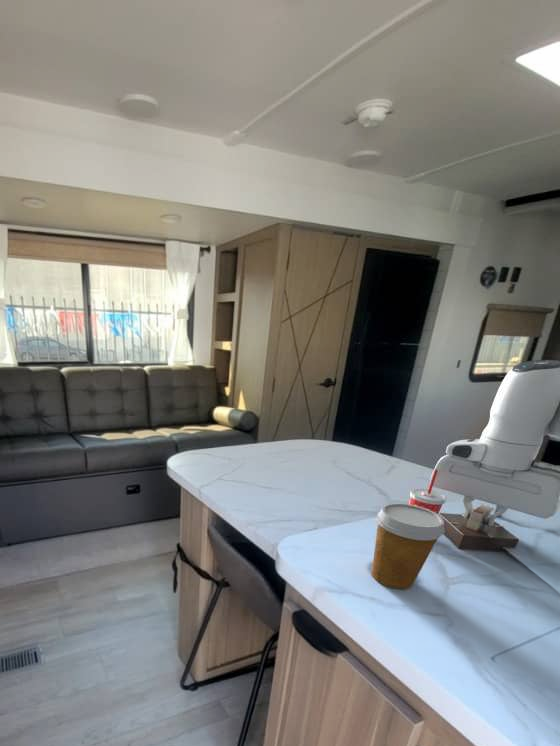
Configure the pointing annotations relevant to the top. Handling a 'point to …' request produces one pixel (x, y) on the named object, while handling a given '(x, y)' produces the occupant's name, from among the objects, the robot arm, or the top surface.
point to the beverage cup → (428, 497)
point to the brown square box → (477, 535)
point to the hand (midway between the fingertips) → (477, 521)
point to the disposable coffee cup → (404, 543)
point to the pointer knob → (478, 517)
